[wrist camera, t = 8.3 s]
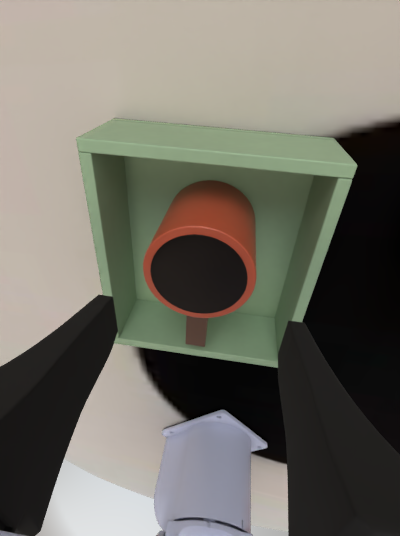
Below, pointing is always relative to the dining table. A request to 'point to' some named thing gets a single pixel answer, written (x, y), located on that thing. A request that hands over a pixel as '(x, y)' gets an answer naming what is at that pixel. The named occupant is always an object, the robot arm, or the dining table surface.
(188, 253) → the pot
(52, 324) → the dining table surface
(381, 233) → the dining table surface
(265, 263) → the drawer
